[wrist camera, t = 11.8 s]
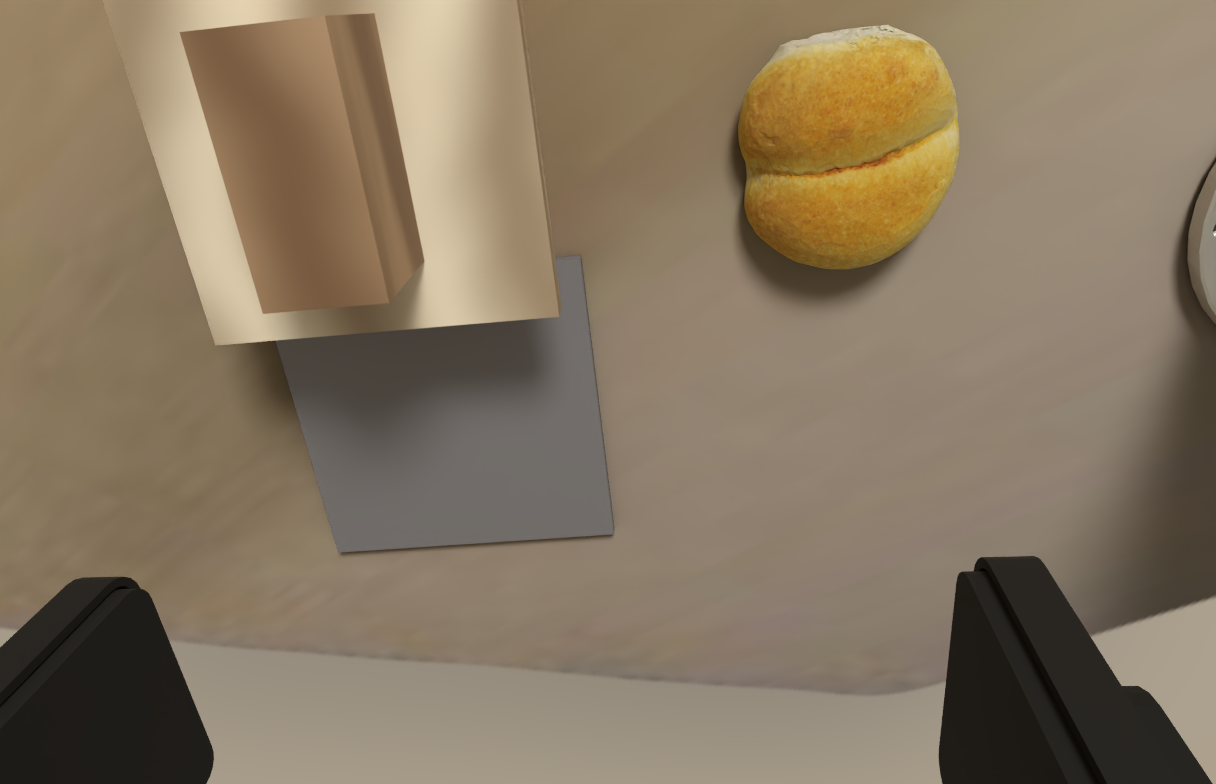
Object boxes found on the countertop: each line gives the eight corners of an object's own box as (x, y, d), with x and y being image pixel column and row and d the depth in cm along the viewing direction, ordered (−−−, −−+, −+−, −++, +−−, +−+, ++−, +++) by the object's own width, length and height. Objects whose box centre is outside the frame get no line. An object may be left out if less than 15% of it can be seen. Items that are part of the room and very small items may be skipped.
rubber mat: (580, 255, 35) (580, 258, 35) (614, 528, 41) (614, 534, 40) (264, 284, 36) (259, 288, 36) (341, 546, 42) (338, 552, 42)
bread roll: (749, 272, 35) (762, 302, 32) (727, 48, 32) (738, 54, 28) (947, 242, 34) (983, 270, 31) (948, 8, 31) (989, 9, 27)
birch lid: (508, -93, 25) (476, -116, 20) (561, 307, 31) (546, 366, 26) (106, -44, 26) (-19, -54, 21) (227, 335, 32) (151, 397, 27)
